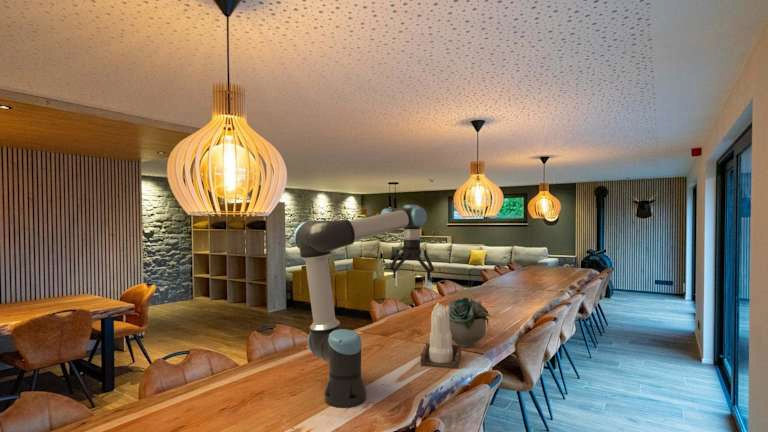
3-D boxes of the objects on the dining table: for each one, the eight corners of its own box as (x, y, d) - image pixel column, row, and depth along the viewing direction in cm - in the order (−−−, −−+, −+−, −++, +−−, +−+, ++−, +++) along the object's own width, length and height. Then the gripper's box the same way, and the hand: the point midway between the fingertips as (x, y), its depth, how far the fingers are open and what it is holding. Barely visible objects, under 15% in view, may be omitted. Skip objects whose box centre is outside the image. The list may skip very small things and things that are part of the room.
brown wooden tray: (458, 368, 176) (458, 357, 176) (420, 365, 180) (420, 354, 180) (461, 356, 192) (461, 345, 192) (426, 353, 196) (426, 343, 196)
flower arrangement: (500, 349, 202) (499, 299, 203) (456, 355, 194) (455, 303, 194) (473, 336, 226) (472, 292, 226) (432, 341, 217) (432, 295, 218)
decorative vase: (452, 363, 179) (451, 306, 180) (428, 362, 181) (427, 305, 182) (453, 355, 190) (452, 302, 190) (430, 354, 192) (429, 301, 193)
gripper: (440, 239, 184) (440, 286, 183) (387, 238, 191) (387, 284, 190) (438, 239, 177) (438, 288, 176) (383, 238, 184) (382, 286, 183)
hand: (411, 286), depth 183 cm, fingers open, 13 cm apart
